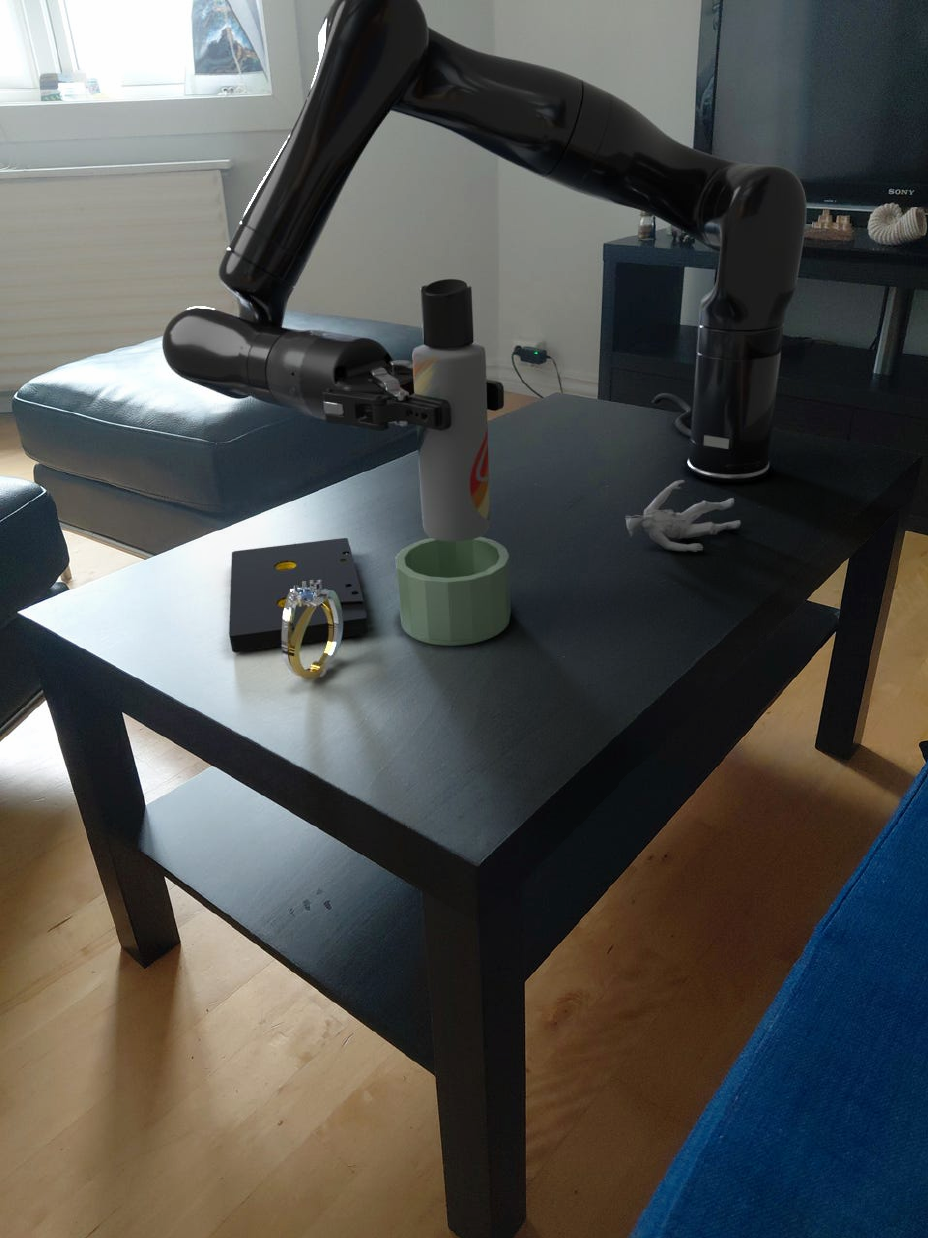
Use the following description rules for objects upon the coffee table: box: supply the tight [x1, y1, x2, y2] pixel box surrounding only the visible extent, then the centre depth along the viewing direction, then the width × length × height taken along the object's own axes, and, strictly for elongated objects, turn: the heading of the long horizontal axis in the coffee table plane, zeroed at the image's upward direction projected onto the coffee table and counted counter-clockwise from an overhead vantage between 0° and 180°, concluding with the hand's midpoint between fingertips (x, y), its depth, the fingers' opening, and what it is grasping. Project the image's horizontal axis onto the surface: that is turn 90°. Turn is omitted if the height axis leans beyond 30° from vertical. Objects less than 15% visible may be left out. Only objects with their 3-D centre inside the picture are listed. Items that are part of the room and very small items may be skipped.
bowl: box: [394, 536, 512, 647], centre depth 82 cm, size 10×10×6 cm
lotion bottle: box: [412, 278, 491, 542], centre depth 75 cm, size 6×6×20 cm
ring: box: [281, 580, 343, 680], centre depth 74 cm, size 7×3×8 cm, turn 151°
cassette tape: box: [228, 537, 369, 653], centre depth 87 cm, size 18×12×2 cm, turn 12°
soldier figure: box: [624, 479, 742, 553], centre depth 95 cm, size 8×5×12 cm
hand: (474, 406), depth 73 cm, fingers closed on lotion bottle, 5 cm apart
